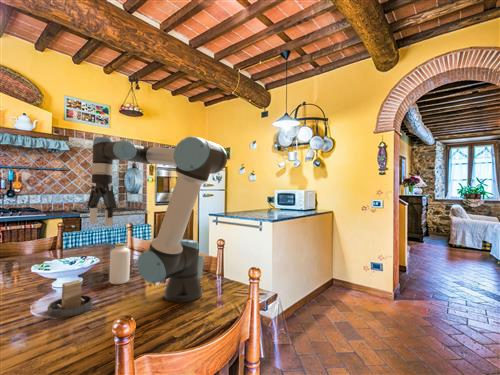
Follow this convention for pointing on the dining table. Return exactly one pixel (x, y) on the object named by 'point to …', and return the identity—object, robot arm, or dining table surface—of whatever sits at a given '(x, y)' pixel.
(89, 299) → the tin
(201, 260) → the cup
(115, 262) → the potion bottle
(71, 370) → the dining table surface
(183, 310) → the dining table surface
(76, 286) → the tan rectangular block
